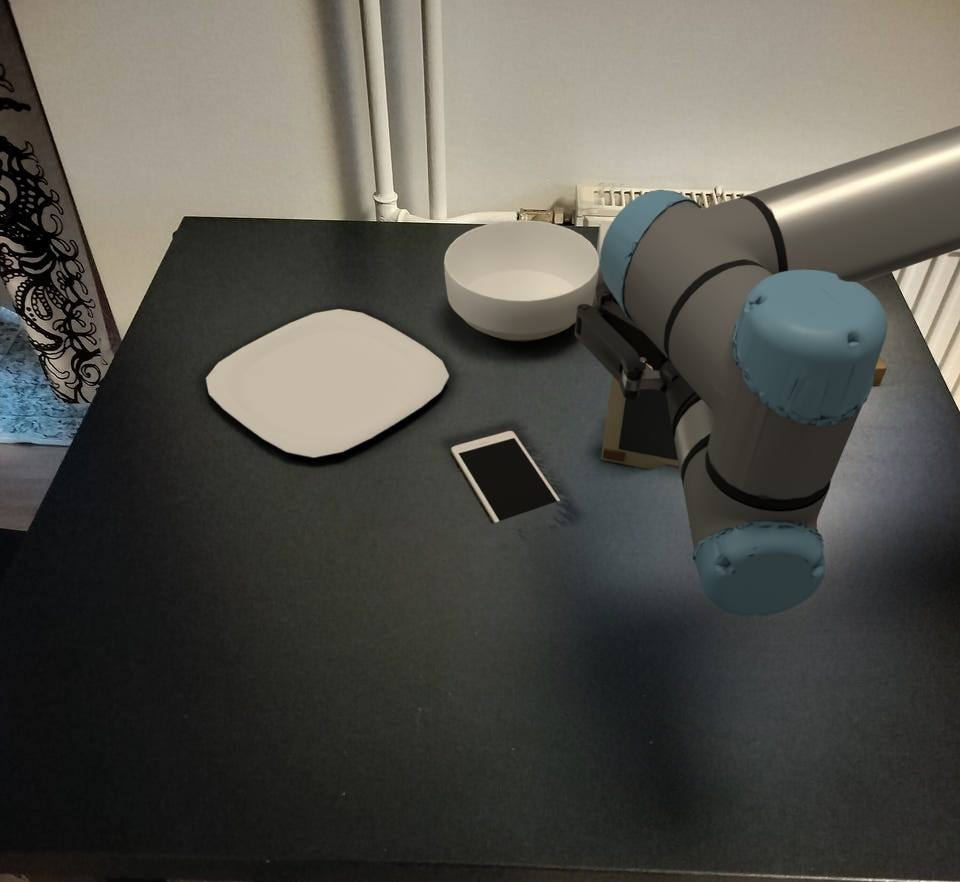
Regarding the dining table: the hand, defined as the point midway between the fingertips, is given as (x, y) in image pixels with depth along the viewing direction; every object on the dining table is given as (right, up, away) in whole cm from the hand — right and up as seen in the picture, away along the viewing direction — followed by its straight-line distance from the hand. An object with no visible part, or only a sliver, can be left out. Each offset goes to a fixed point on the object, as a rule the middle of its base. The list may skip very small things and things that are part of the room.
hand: (688, 270), depth 77 cm
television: (+5, -10, +25) cm, 28 cm away
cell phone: (-15, -15, +22) cm, 30 cm away
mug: (+3, +20, +49) cm, 53 cm away
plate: (-37, -1, +33) cm, 50 cm away
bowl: (-13, +11, +42) cm, 45 cm away
